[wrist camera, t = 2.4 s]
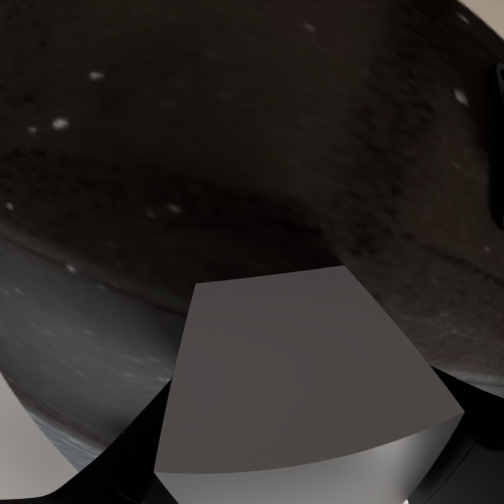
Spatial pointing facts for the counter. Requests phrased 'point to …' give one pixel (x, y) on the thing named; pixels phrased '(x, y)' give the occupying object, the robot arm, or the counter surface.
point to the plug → (299, 397)
